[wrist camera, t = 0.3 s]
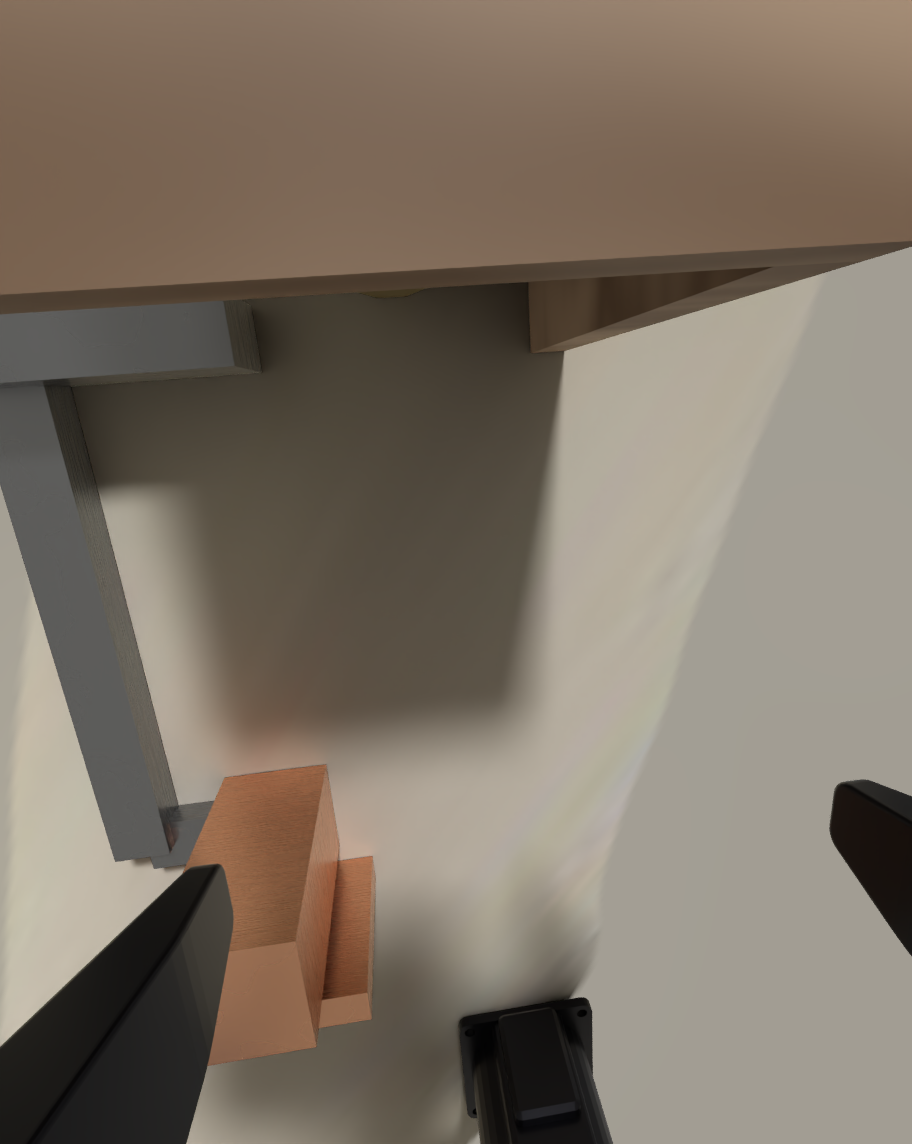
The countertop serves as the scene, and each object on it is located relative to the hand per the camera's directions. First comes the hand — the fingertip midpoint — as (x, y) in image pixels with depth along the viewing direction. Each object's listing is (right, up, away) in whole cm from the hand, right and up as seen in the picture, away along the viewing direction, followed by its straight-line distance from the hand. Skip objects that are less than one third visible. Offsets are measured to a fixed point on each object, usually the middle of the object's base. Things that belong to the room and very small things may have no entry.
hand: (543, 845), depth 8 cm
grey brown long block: (-10, +1, +13) cm, 17 cm away
